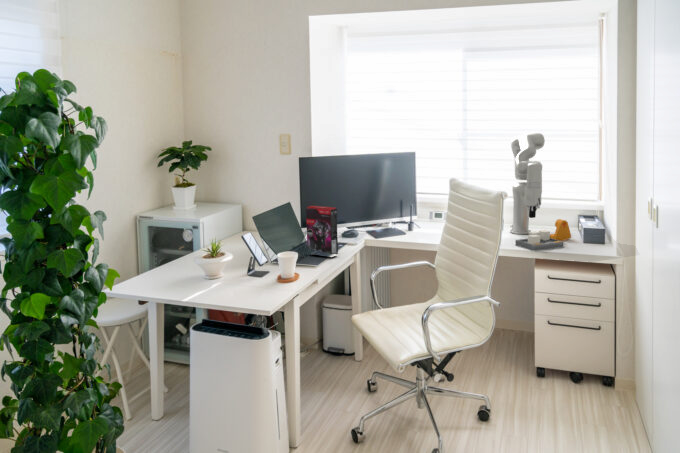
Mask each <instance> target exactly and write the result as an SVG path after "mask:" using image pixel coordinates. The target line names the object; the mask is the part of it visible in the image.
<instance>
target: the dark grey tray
mask: <svg viewBox="0 0 680 453" xmlns="http://www.w3.org/2000/svg"><path fill="white" fill-rule="evenodd" d="M564 244H565V242H564V240H563V241H559V240H556V239H552V238H550V240H542V239H540V244H534V245H532V244H529V243H528V238H521V239H515V246H517V247H521V248H524V249H527V250H530V251H533V252H534V251H535V252H536V251H543V250H550V249H558V247H559V248H564V247H565V246H564Z"/></svg>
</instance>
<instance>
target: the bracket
mask: <svg viewBox="0 0 680 453" xmlns="http://www.w3.org/2000/svg"><path fill="white" fill-rule="evenodd" d="M554 226H555V227H556V229H555V232H554V233H550V238H552V239H556V240H559V241H563V242H564V241H568V239H571V238H572V233H571V231H570V226H569V223H568V221H567V220H566V219H565V220H564V219H561V218H559V219H557V220H555V223H554Z"/></svg>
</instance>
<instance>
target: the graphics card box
mask: <svg viewBox="0 0 680 453" xmlns="http://www.w3.org/2000/svg"><path fill="white" fill-rule="evenodd" d="M305 219H306V220H305V221H306V224H305V225H306V249H307V248H308V249H312V250H316V251H320V252H325V253H329V254H338V255H339V244H338V238H339V237H338V208H337V207H330V206H322V205H321V206H320V205H309V206H307V207H305Z"/></svg>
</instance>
